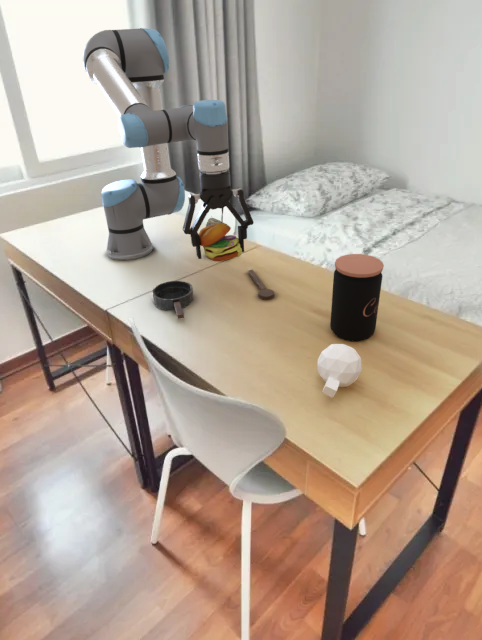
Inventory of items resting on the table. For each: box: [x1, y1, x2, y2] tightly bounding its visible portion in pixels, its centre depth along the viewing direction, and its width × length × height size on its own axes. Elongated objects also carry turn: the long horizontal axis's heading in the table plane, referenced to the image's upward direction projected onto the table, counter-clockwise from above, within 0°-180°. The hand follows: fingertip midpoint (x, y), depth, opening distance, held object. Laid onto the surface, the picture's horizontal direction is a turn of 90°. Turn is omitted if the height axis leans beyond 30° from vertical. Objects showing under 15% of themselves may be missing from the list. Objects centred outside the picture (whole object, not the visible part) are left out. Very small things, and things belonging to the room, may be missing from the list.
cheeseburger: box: [198, 221, 243, 262], centre depth 122 cm, size 10×11×10 cm
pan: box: [151, 280, 195, 311], centre depth 128 cm, size 11×11×4 cm
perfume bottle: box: [316, 343, 363, 399], centre depth 93 cm, size 9×9×12 cm
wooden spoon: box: [248, 269, 275, 301], centre depth 134 cm, size 17×4×1 cm, turn 16°
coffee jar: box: [329, 253, 385, 343], centre depth 107 cm, size 11×11×18 cm
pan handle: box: [173, 301, 185, 320], centre depth 120 cm, size 7×2×3 cm, turn 16°
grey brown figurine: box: [205, 208, 224, 227], centre depth 149 cm, size 8×11×20 cm
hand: (220, 253), depth 124 cm, fingers closed on cheeseburger, 11 cm apart
